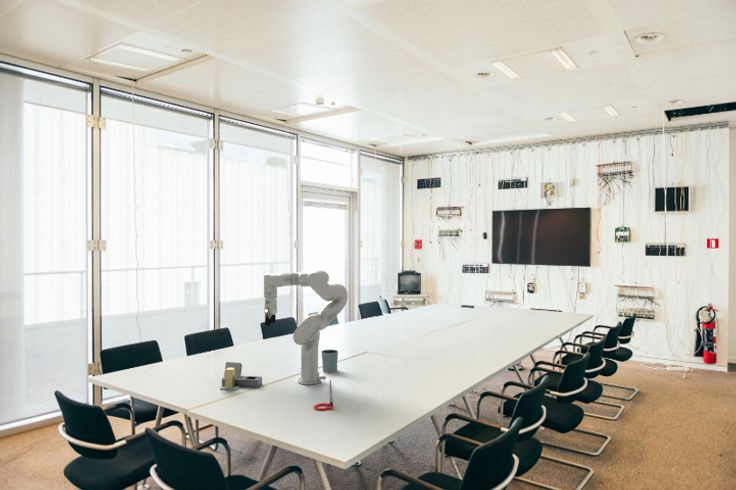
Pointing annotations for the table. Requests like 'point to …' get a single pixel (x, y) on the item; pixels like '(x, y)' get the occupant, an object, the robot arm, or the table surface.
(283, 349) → the table surface
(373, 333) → the table surface
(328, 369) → the grey-green cup
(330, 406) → the tow hook
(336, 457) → the table surface
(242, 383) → the rail
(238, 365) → the electrical switch
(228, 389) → the rubber mat
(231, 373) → the brass peg
